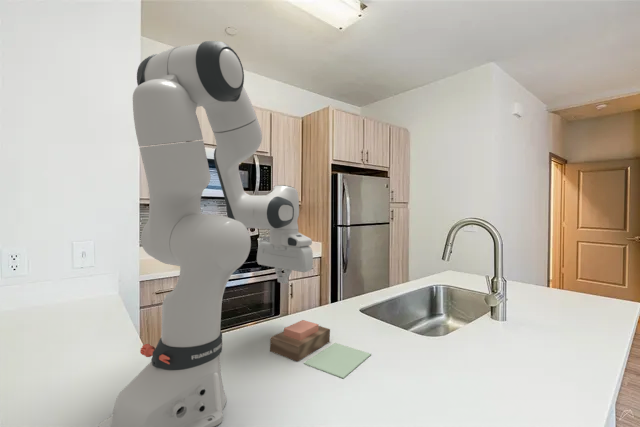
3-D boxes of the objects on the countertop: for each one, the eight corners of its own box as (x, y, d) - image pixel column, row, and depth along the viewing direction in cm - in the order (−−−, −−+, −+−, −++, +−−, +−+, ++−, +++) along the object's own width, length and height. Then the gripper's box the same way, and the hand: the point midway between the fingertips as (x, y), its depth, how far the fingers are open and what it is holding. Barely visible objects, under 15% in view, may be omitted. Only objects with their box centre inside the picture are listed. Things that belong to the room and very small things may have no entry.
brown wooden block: (297, 361, 83) (298, 346, 83) (269, 351, 89) (270, 337, 89) (329, 341, 97) (330, 329, 97) (303, 333, 102) (304, 321, 102)
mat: (343, 378, 76) (343, 377, 76) (303, 363, 82) (303, 362, 82) (371, 354, 89) (371, 353, 89) (335, 343, 96) (335, 342, 96)
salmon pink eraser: (300, 340, 87) (300, 333, 87) (283, 335, 91) (284, 328, 91) (318, 330, 95) (318, 324, 95) (302, 326, 98) (302, 319, 98)
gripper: (252, 236, 100) (251, 279, 100) (303, 241, 89) (302, 290, 89) (266, 235, 105) (265, 275, 106) (316, 240, 94) (315, 285, 94)
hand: (282, 282), depth 97 cm, fingers closed
